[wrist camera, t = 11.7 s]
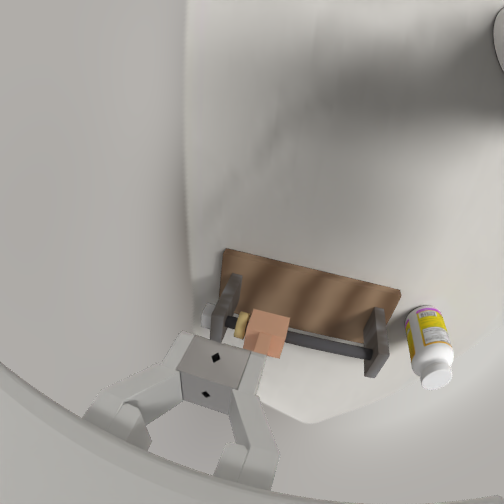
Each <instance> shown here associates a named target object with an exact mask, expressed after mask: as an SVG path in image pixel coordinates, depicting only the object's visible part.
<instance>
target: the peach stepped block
mask: <svg viewBox="0 0 504 504" xmlns="http://www.w3.org/2000/svg"><path fill="white" fill-rule="evenodd" d="M289 321H290V318H289V317H285V316H281V315H277V314H273V313H269V312H265V311H261V310H257V309H253V312H252V315H251V318H250V320H249V323H248V326H247V329H246V335H245V340H244V346H243V349H246V350H250V351H253V352H257V353H260V354H264V355H267V356H271V357H275V358H280V355H281V352H282V349H283V345H284V342H285V339H286V335H287V330H288V326H289ZM267 356H266V357H267Z"/></svg>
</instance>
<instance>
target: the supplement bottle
mask: <svg viewBox="0 0 504 504" xmlns="http://www.w3.org/2000/svg"><path fill="white" fill-rule="evenodd" d="M405 330H406V335H407V341H408V346H409V352H410V358H411V365H412V369H413V371H414V373H415V374H416V375H418V376H420V380H421V385H422V387H423V388H425V389H427V390H434V389H439V388H441V387H443V386H445V385H447V384H448V383H449V382H450V380H451V379H452V371H451V367H450V366H451V364H452V362H453V359H454V353H453V349H452V346H451V342H450V339H449V336H448V333H447V329H446V326H445V323H444V320H443V317H442V314H441V312H440V311H439V310H438V309H437V308H435V307H433V306H421V307H418V308H416V309H415V310H413V311H412V312H411V313H410V314H409V315H408V316H407V318H406V321H405Z"/></svg>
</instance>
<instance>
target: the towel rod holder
mask: <svg viewBox="0 0 504 504" xmlns="http://www.w3.org/2000/svg"><path fill="white" fill-rule="evenodd" d="M400 298H401V292H400V290H398V289H394V288H390V287H385V286H381V285H377V284H373V283H369V282H364V281H360V280H356V279H352V278H348V277H344V276H339V275H335V274H331V273H327V272H323V271H319V270H314V269H310V268H306V267H302V266H298V265H294V264H289V263H285V262H281V261H277V260H273V259H269V258H265V257H260V256H256V255H252V254H248V253H244V252H240V251H236V250H231V249H227V248H226V249H225V251H224V253H223V260H222V270H221V281H220V293H219V300H218V302H217V304H216V306H215V308H214V310H213V312H212V314H211V328H210V340H213V341H216V342H219V343H221V342H222V340H223V337H224V335H225V333H226V330H227V328H228V327H225V321H226V318H227V316H228V315H229V316H233V314H234V313H236V314H240V312H241V311H242V312H246V313H250V317H251V315H252V312H253V309H257V310H261V311H265V312H269V313H273V314H277V315H281V316H285V317H289V318H290V321H289V326H288V327H291V328H295V329H299V330H303V331H308V332H312V333H316V334H321V335H325V336H330V337H334V338H339V339H344V340H348V341H353V342H358V343H363V344H364V348H369V349H373V355H372V358H371V360H365V359H364V376H365V377H370V378H375V377H376V375H377V374H378V373H379V371H380V370H381V368H382V367H383V365H384V364H385V362H386V361H387V359H388V357H389V346H388V337H387V328H386V325H387V323H388V321H389V319H390V317H391V315H392V314H393V312H394V310H395V308H396V306H397V304H398V302H399V300H400Z"/></svg>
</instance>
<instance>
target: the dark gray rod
mask: <svg viewBox="0 0 504 504" xmlns="http://www.w3.org/2000/svg"><path fill="white" fill-rule="evenodd" d="M215 306H216V305H213V304H210V303H207V305H206V307H205V308H204V310H203V312H202V314H201V327H204V328H208V329H210V328H211V314H212V312H213V310H214V308H215ZM249 319H250V313H246V312H242V311H241V312H240V314H239V317H238V318H236V317H232V316H229V315H228V316H227V318H226V321H225V327H228V328H232V329H235V332H234V337H237V338H240V339H244V337H245V334H246V329H247V326H248V323H249ZM285 342H286V343H290V344H294V345H299V346H303V347H307V348H312V349H316V350H321V351H325V352H330V353H335V354H340V355H345V356H350V357H355V358H360V359H365V360H371V358H372V355H373V349H369V348H364V347H359V346H354V345H349V344H344V343H340V342H335V341H330V340H326V339H321V338H317V337H312V336H308V335H304V334H299V333H295V332H291V331H287V335H286V339H285Z"/></svg>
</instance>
